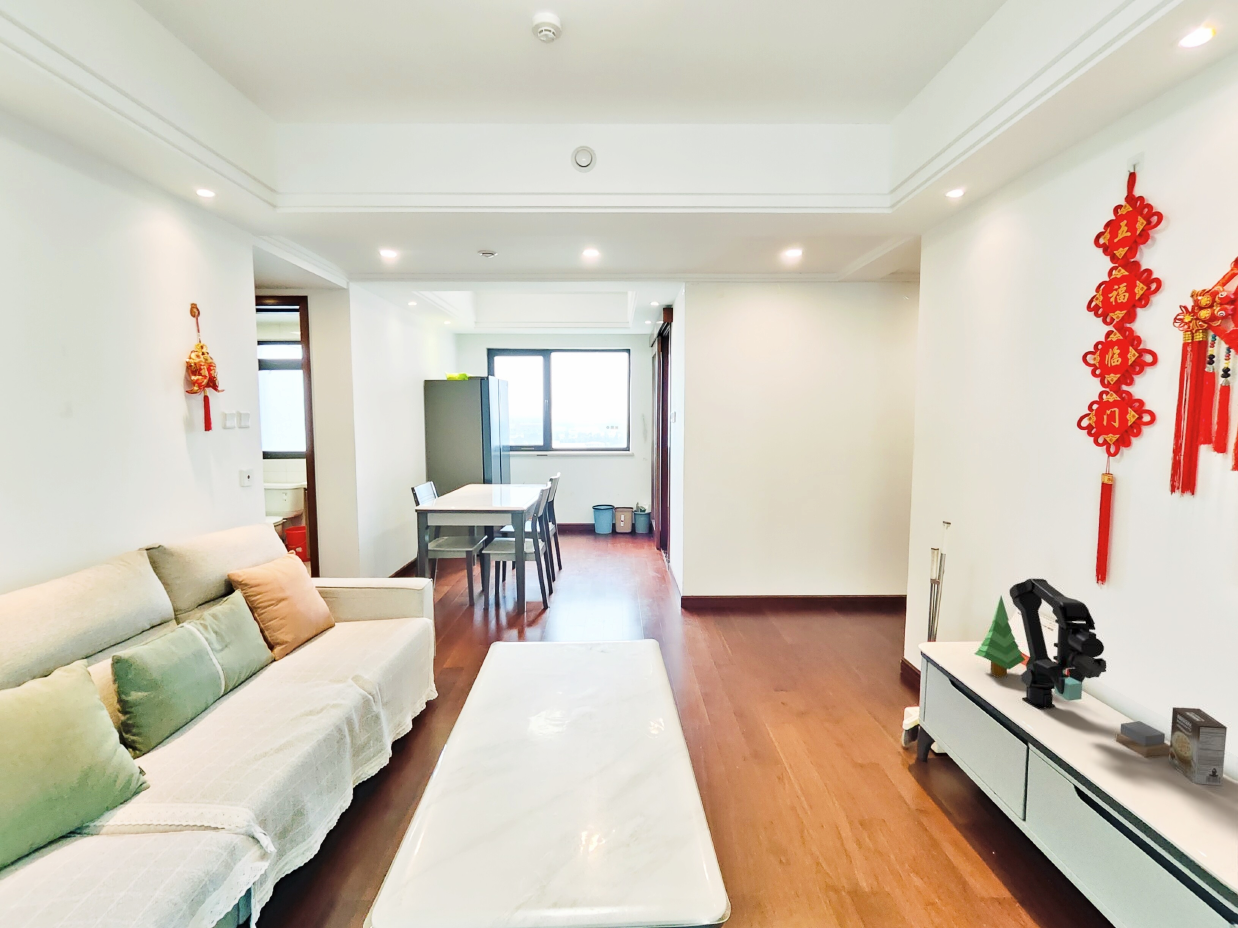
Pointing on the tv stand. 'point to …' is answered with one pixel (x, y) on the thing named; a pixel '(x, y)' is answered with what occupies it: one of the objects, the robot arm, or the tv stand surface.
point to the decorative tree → (1000, 644)
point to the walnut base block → (1143, 747)
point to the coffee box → (1197, 745)
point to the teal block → (1071, 690)
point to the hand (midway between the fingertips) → (1067, 692)
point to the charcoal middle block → (1142, 733)
